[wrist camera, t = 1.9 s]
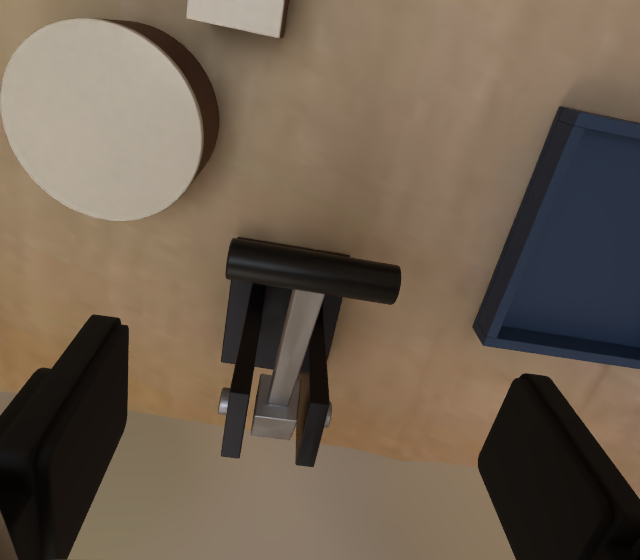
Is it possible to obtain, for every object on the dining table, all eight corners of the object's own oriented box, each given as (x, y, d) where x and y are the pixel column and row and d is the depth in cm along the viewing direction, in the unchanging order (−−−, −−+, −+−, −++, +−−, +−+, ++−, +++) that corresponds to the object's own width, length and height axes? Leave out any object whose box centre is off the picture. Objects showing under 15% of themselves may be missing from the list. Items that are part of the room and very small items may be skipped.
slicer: (237, 236, 34) (203, 340, 22) (349, 255, 34) (372, 364, 23) (223, 353, 38) (187, 490, 27) (322, 367, 39) (330, 505, 27)
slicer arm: (235, 219, 17) (223, 272, 15) (400, 247, 18) (403, 300, 16) (223, 391, 28) (215, 431, 26) (325, 404, 29) (323, 444, 27)
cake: (47, 3, 27) (-12, -4, 22) (227, 41, 28) (210, 42, 23) (56, 177, 31) (9, 204, 26) (211, 204, 32) (194, 234, 27)
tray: (559, 106, 30) (579, 111, 28) (764, 149, 32) (798, 158, 30) (472, 327, 38) (482, 345, 35) (642, 353, 39) (663, 373, 37)
